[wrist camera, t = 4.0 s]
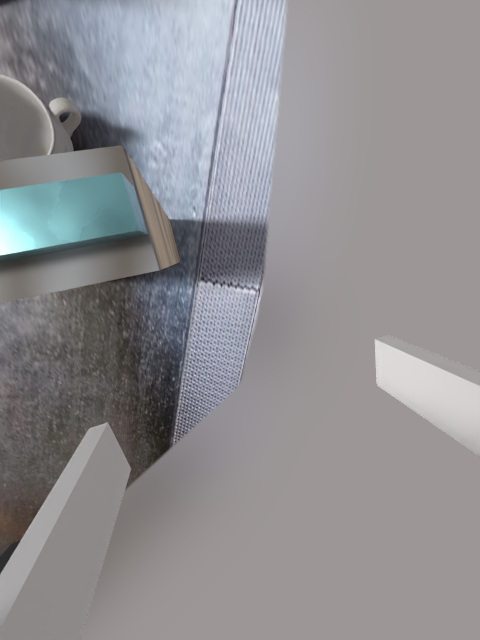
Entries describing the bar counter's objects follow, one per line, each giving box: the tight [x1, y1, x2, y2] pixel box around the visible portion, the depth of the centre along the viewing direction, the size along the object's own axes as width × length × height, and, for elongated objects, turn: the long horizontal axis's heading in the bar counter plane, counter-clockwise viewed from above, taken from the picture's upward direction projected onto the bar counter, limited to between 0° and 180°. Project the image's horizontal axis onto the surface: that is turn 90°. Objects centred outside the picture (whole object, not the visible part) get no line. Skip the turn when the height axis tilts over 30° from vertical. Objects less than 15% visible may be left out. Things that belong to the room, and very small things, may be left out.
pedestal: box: [0, 145, 181, 303], centre depth 29 cm, size 18×8×30 cm, turn 101°
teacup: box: [0, 74, 81, 161], centre depth 33 cm, size 14×11×8 cm
